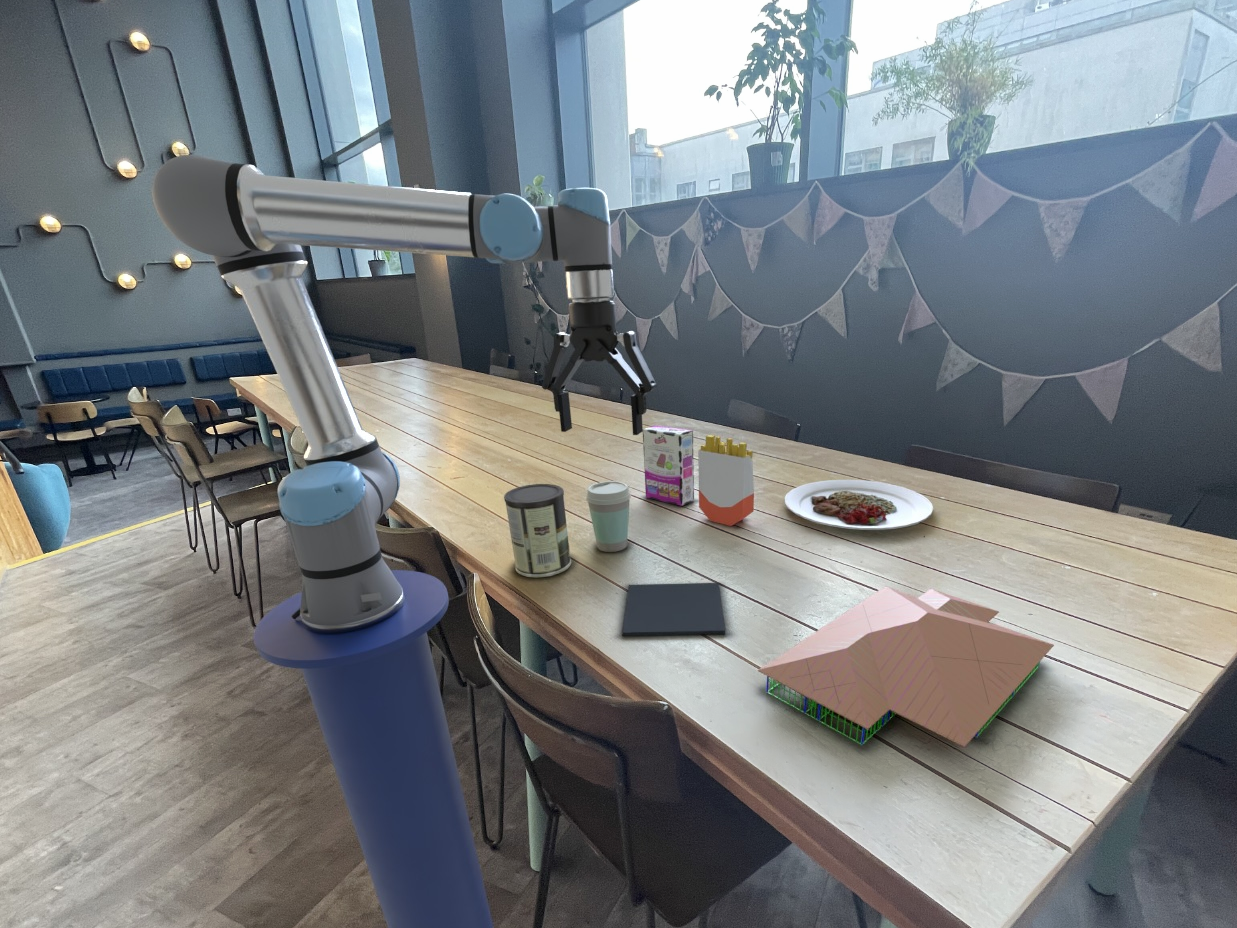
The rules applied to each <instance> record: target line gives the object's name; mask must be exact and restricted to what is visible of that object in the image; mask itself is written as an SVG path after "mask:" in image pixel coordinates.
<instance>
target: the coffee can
mask: <svg viewBox="0 0 1237 928" xmlns="http://www.w3.org/2000/svg"><path fill="white" fill-rule="evenodd" d="M564 494H565V490H564V488H563V487H562V486H559V485H557V484H552V483H551V484H550V483H534V484H527V485H522V486H518V487H515V488H513V489H510V490H508V491H506V493H505V494H504V495H503V499H504V502H505V507H506V514H507V519H508V526H509V533H510V540H511V545H512V546H511V547H512V552H513V558H514V559H513V560H514V566H515V569H514V570H515V572H516V573H517V574H519V575H520V576H523V577H527V578H534V579H535V578H536V579H537V578H547V577H552V576H557V575H558V574H561V573H563V572H565V571H566V570H568V569H569V568H570V567H571V565H572V558H571V551H570V542H569V535H568V534H569V533H568V526H567V516H566V507H565V499H564Z"/></svg>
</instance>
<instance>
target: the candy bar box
mask: <svg viewBox="0 0 1237 928" xmlns="http://www.w3.org/2000/svg"><path fill="white" fill-rule="evenodd" d="M642 445H643V446H642V448H643V467H644V469H643V470H644V485H645V487H644V489H645V498H647V499H651V500H654V501H659V502H663V503H668V504H671V505H676V506H680V507H683V506H685V505H687V504H690V503H693V502H695V478H694V477H695V476H694V475H695V474H694V473H695V471H694V470H695V469H694V468H695V467H694V430H691V429H684V428H676V427H670V426H663V425H652V426H649V427H646V428H643V432H642Z"/></svg>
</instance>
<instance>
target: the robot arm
mask: <svg viewBox="0 0 1237 928" xmlns="http://www.w3.org/2000/svg"><path fill="white" fill-rule="evenodd" d="M151 187H152V188H151V190H152V201H153V205H154V208H155V211H156V213H157V215H158V217H159V219H160V220H161V222H162V223H163V225H164V226H165V227H166V229H167V230H168V231H169V232H170V233H171V234H172V235H173V236H174V237H175V238H176V239H177V240H179V241H180V242H181V243H183V244H184V245H186V246H187V247H189V248H191V249H193V250H195V251H196V252H200V253H203V254H205V255H210V256H211V257H212V259H213V261H214V263H215V265H216V268H217V270H218V271H219V274H220V276H221V278H222V279H223V280H224V281H225V282H227V283H229V284H231V285H233V286H235V287H236V288H237V289H238V290H239V291H240V293H241V295H242V298H243V300H244V302H245V304H246V307H247V309H248V311H249V313H250V316H251V318H252V321H253V322H254V324H255V327H256V329H257V331H258V334H259V337H260V338H261V340H262V343H263V345H264V347H265V349H266V351H267V354H268V357H269V358H270V361H271V363H272V365H273V368H274V370H275V372H276V374H277V376H278V378H279V381H280V383H281V385H282V387H283V389H284V392H285V394H286V397H287V399H288V401H289V403H290V406H291V408H292V410H293V412H294V415H295V417H296V419H297V421H298V424H299V426H300V428H301V430H302V432H303V434H304V437H305V439H306V441H307V447H306V449H305V452H304V454H303V456H302V457H303V460H304V462H305V464H306V465H305V466H304V467H303V468H299V469H296V470H293V471H292V472H290V473H288V474H287V475H286V476H284V477H283V478H282V479H281V481H280V482H279V483H278V486H277V496H278V502H279V506H278V507H279V510H280V513H281V516H282V517H283V520H284V523H285V526H286V529H287V532H288V535H289V538H290V542H291V544H292V548H293V550H294V555H295V558H296V560H297V564H298V566H299V570H300V574H301V576H302V581H301V582H302V584H301V592H302V594H301V607H300V609H298V610H297V611H296V612H295V613H294V614H293V615H292V616H291V617H292V618H293V619H296V618H297V617H298V616H300V615H301V618H302V621H303V624H304V626H305V628H306V629H308V630H309V631H311V632H314V633H319V634H343V633H349V632H354V631H358V630H362V629H365V628H368V627H371V626H374V625H376V624H379V623H381V622H383V621H385V620H387V619H388V618H390V617H391V616H393V615H394V614H395V613H397V612H398V611H399V610H400V609H401V608H402V606H403V604H404V602H405V597H404V593H403V589H402V587H401V585H400V584H399V582H398V581H397V580H396V578H395V576H394V575H393V573H392V572H391V569H390V567H389V566H388V564H387V563H386V561H385V559H384V558H383V554H382V551H381V550H382V549H381V546H380V542H379V538H378V535H377V534H378V533H377V529H376V524H378V522H379V521H380V519H381V518H382V517H383V516H384V514H385V513H386V512H387V511H389V510H390V508H391V507H392V506H393V505H394V502H396V499H397V497H398V493H399V491H400V486H401V478H400V473H399V469H398V467H397V464H396V463H395V462H394V460H393V459H392V458H391V457H390V456H389V455H388V454H387V453H385V452H383V451H382V449H381V446H380V444H379V441H378V439H377V437H376V435H374V434H372V433H370V432H368V431H366V430H364V429H363V427H362V425H361V421H360V420H359V417H358V414H357V412H356V409H355V407H354V404H353V402H352V399H351V398H350V395H349V392H348V390H347V386H346V384H345V382H344V379H343V377H342V374H341V373H340V369H339V367H338V365H337V362H336V359H335V357H334V355H333V352H332V350H331V347H330V345H329V342H328V340H327V337H326V335H325V332H324V330H323V327H322V325H321V322H320V319H319V318H318V315H317V312H316V310H315V307H314V305H313V303H312V300H311V296H310V295H309V292H308V290H307V288H306V285H305V283H304V280H303V275H304V273H305V271H306V269H307V266H308V261H307V259H306V256H305V254H304V251H303V248H302V246H310V247H324V248H336V249H351V250H352V249H353V250H365V251H379V252H381V251H382V252H394V253H408V254H409V253H410V254H421V255H422V254H424V255H438V256H452V257H465V258H466V257H467V258H477V259H478V258H479V259H485V260H486V261H487V262H488V263H490V264H503V265H512V264H521V263H522V264H523V263H539V262H540V263H541V262H551V261H552V262H558V261H563V263H564V272H565V283H566V285H565V286H566V288H565V289H566V298H567V299H568V300H571V302H570V303H569V304H568V305H567V307H568V308H567V309H568V318H569V319H568V320H569V326H570V334H569V333H566V332H565V331H561V332H557V333H554V334H553V348H552V351H551V355H550V358H549V361H548V364H547V367H546V370H545V374H544V376H543V380H542V383H541V388H542V389H543V391H545V390H547V391H549V392H551V393H552V394H553V403H554V404H553V405H554V410H555V412H556V413H559V423H560V431H561V433H566V432H568V431H570V430H572V429H573V423H572V413H571V402H570V394H569V391H565V390H566V387H567V386H568V384H569V382H570V381H571V379H572V378H573V376H574V375H575V373H576V372H577V370H578V369H579V367H580V366H581V364H582V363H584V362H591V361H595V362H605V361H606V362H607V363H608V364H609V365H611V366H612V367H613V369H614V370H615V371H616V372H617V373H618V374H619V376H620V377H621V378H622V379H623V381H624V382H625V383H626V384H627V386H628V387H629V388H630V389H631V390H632V391H633V393H634V394H632V395H630V409H631V426H632V427H631V428H632V435H633V436H638V435H639V434H641V433H643V429H644V428H643V415H645V414H646V413H647V410H648V407H647V393H650V392H652V391H653V390H655V389H657V387H658V384H657V382H656V380H655V378H654V377H653V374H652V372H651V370H650V369H649V366H648V364H647V362H646V360H645V358H644V356H643V354H642V352H641V350H640V348H639V346H638V342H637V337H636V335H637V334H636V332H635V331H633V330H630V331H627V332H624V333H623V332H622V333H618V331H617V314H616V303H615V302H614V300H612V298H614V297H615V287H614V286H615V285H614V284H615V283H614V272H613V271H614V270H613V254H612V253H613V252H612V233H611V221H610V220H611V219H610V211H609V201H608V197H607V194H606V193H605V192H604V191H603V190H602V189H599V188H593V187H576V188H567V189H563V190H560V191H559V192H558V195H557V203H556V204H554V205H548V206H534V205H533V204H532V203H531V202H530V201H529V200H528V199H526V198H523V197H521V195H519V194H514V193H505V192H504V193H503V192H502V193H499V194H496V195H495V194H494V195H493V194H479V193H477V194H476V193H471V192H461V191H460V192H458V191H448V190H437V189H436V190H435V189H427V188H426V189H425V188H415V187H414V188H413V187H403V186H402V187H401V186H392V185H391V186H390V185H379V184H366V183H356V182H345V181H333V180H322V179H311V178H301V177H289V176H277V175H265V174H264V173H263V172H262V171H261V170H260V169H259V168H258V167H257V166H255V165H253V164H248V163H239V162H238V163H237V162H229V161H223V160H218V159H216V158H213V157H210V156H205V155H199V154H183V155H177V156H174V157H173V158H170V159H168V160H167V161H166V162H165V163H163V164H162V165H161V166H160V168H159V169H158V170H157V172H156V174H155V175H154V178H153V182H152V186H151ZM619 343H620V344H621V346H622V347H623V348H624V349H625V352H626V355H627V356H628V359H629V360H630V362H631V364H632V366H633V368H634V370H635V371H633V369H632V368H631V367H630V365H629V364H628V363H627V362H626V360H625V359H624V358H623V355H622V354H621V353H620V351H619V350H618V349H617V346H618V345H619ZM570 344H571V345H572V347H573V348H574V351H572V354H571V356H570V357H569V360H568V361H567V363H566V365H565V366H564V367H563V369H562V371H561V373H559V372H560V370H561V366H562V364H563V361H564V358H565V355H566V352H567V348H568V347H569V345H570ZM635 372H636V373H635ZM558 375H559V376H558Z"/></svg>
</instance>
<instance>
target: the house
mask: <svg viewBox="0 0 1237 928" xmlns="http://www.w3.org/2000/svg"><path fill="white" fill-rule="evenodd" d="M999 613H1000V611H999V610H996V609H993V608H990V607H987V606H984V605H981V604H978V603H975V602H972V601H968V600H966V599H963V598H960V597H957V596H954V595H951V594H948V593H945V592H942V591H939V590H936V589H933V588H929V589H928V590H926V591H925V592H924V593H922V594H921V595H919V596H916V595H913V594H909V593H906V592H905V591H904V592H903V591H901V590H898V589H895V588H893V587H890V586H887V585H884V586H883V587H882V588H880V589H878V590H877V591H876V592H874V593H872V594H871V595H868V597H866V598H865V599H863V600H862V601H861V602H859V603H857V604H855V605H854V606H853V607H852V608H850V609H848V610H847V611H845V612H844V613H842V614H841V615H839V616H838V617H836V618H835V619H833V620H832V621H830V622H829V623H826V624H825V625H824V626H822V627H821V628H819V629H818V630H816V631H815V632H813V633H812V634H810V635H808V636H807V637H805V638H804V639H802V640H801V641H800V642H798V643H797V644H795V645H794V646H791V648H789V649H788V650H786V651H785V652H783V653H782V654H780V655H779V656H776V658H773V660H771V661H769V662H768V663H766V664H765V665H763V666H762V667H760V668H759V669H757V672H759V673H760V674H763V675H764V676H766V693H768V694H769V695H771V696H773V697H775V698H776V699H778V700H780V701H781V702H784V703H786V704H787V705H789V706H791V707H793V708H795V709H797V710H798V711H800V712H801V713H804V714H805V715H807V716H809V717H811V718H812V719H814V720H816V721H818V722H820V723H821V724H823V725H825V726H826V727H828V728H830V729H832V730H834V731H835V732H838V733H839V734H841V735H843V736H845V737H847V738H848V739H849V740H852V741H854V742H855V743H857V744H859V745H861V746H863V745H864V744H865V743H866V742H868V740H869V739H870V738H872V737H873V736H874V735H875V734H876V733H877V732H878V731H879V730H880V729H881V728H882V727H884V726H885V725H886V724H887V723H888V722H889V721H890V720H891V719H893V717H894V716H896V715H898V716H901V717H902V718H905V719H906V720H908V721H910V722H913V723H915V724H916V725H918V726H921V727H922V728H925V729H927V730H929V731H930V732H933V733H935V734H937V735H939V736H941V737H943V738H945V739H947V740H949V741H951V742H954V744H957V745H959V746H961V747H963V748H965V747H967V745H968V744H969V743H970V742H971V740H972V739H973V738H974V737H975V738H977V739H978V737H979V736H981V734H982V732H983V731H984V730H985V729H986V728H987V727H988V726H989V724H990V723H991V722H992V721H993V720H994V719H995V718H996V717H997V715H998V714H999V713H1000V712H1001V711H1002V710H1003V708H1005V706H1006V705H1007V704H1008V703H1009V702H1010V701H1011V699H1012V698H1013V697H1014V696H1015V695H1016V694H1017V692H1018V691H1019V690H1020V689H1021V688H1022V687H1023V686H1024V684H1025V683H1026V682H1027V681H1028V680H1029V679H1030V678H1031V676H1032V675H1033V674H1035V672H1036V671H1037V670H1038V668H1039V667H1040V665H1041V661H1042V660H1043V659H1044V658H1045V656H1046V655H1048V653H1049V652H1050V651H1051V650H1052V649H1053V647H1054V646H1055V644H1053V643H1050V642H1048V641H1045V640H1041V639H1039V638H1036V637H1033V636H1030V635H1028V634H1025V633H1022V632H1018V631H1016V630H1013V629H1010V628H1007V627H1004V626H1003V625H998V624H996V623H993V622H990V621H991V620H992V619H994V618H995V617H996V616H997V615H998V614H999ZM776 682H777V684H776ZM780 684H781V685H783V687H782V686H780ZM776 687H777V696H776V695H774V694H775V693H774V690H775V688H776ZM786 687H787V688H789V691H788V690H787V689H786ZM780 689H781V690H783V695H782V697H783V698H780ZM771 690H772V692H770V691H771ZM791 690H793V691H794V693H792V692H791ZM786 692H787V693H788V701H786V700H785V693H786ZM797 693H798V694H800V696H798V695H797ZM791 695H792V696H794V704H791ZM802 696H803V697H804V698H802ZM797 698H798V699H800V700H799V701H800V702H799V708H798V707H797V706H796V701H797V700H796V699H797ZM802 701H804V704H803V710H802ZM817 704H818V706H817ZM807 705H808V708H807ZM824 707H825V708H824ZM813 708H814V713H813ZM816 709H817V718H816ZM809 711H810V714H809V713H807V712H809ZM830 712H831V713H830ZM823 713H824V714H823ZM834 713H835V714H838V715H837V716H836V715H834ZM813 715H814V716H813ZM827 715H830V716H831V718H830V725H828V724H827ZM890 715H891V716H890ZM840 716H841V717H843V718H844V720H843V719H841V718H840ZM833 717H834V718H835V719H837V724H836V728H834V727H833ZM822 718H824V722H823V721H821V719H822ZM846 720H849V721H850V723H848V722H847V721H846ZM839 721H840V722H842V723H843V730H842V731H843V732H841V731H839ZM846 724H847V725H848V726H850V728H849V729H850V730H849V736H848V735H847V734H845V730H846V729H845V728H846ZM853 724H856V725H857V727H855V726H853ZM876 725H877V728H876ZM860 727H862V729H860ZM852 728H853V729H855V730H857V731H856V738H855V739H854V738H852V737H851V736H852ZM869 729H870V730H869ZM872 730H873V732H872ZM859 731H860V732H861V737H860V738H861V739H860V741H858V735H859ZM865 732H866V735H865ZM868 735H869V736H868ZM864 738H865V739H864Z"/></svg>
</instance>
